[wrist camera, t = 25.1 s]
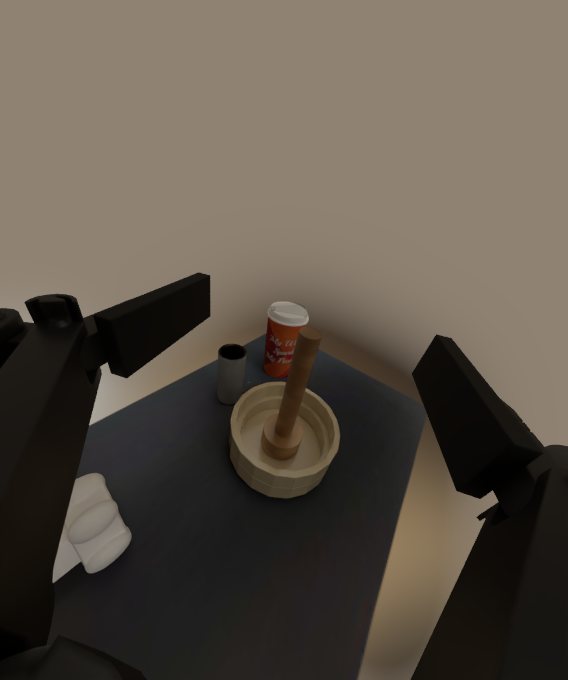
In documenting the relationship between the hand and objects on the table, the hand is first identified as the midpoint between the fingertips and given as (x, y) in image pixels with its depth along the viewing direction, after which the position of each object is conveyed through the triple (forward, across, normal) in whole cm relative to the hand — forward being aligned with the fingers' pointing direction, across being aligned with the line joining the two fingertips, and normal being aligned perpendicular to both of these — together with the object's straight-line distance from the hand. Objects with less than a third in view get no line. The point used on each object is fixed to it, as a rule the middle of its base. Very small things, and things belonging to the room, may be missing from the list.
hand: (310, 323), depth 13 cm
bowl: (+10, 0, -27) cm, 28 cm away
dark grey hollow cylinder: (+16, -12, -27) cm, 33 cm away
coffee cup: (+27, -6, -27) cm, 39 cm away
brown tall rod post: (+10, 0, -26) cm, 28 cm away
